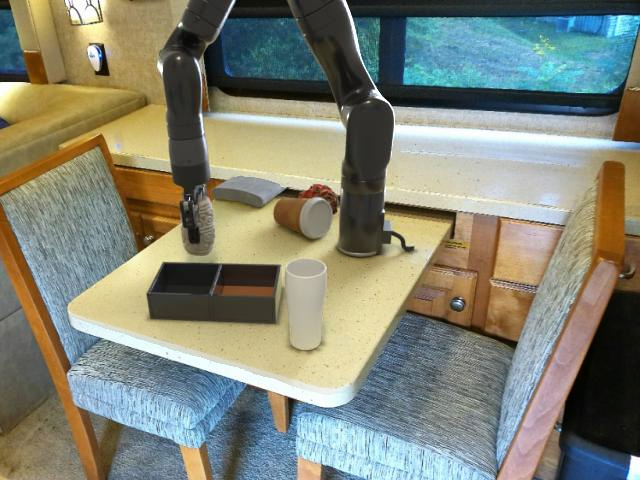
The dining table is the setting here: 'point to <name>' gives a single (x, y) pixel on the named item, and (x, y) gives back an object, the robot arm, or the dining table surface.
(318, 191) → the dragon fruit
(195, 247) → the carving
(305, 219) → the disposable coffee cup
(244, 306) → the storage box with compartments
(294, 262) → the drinking glass
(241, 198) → the hip flask
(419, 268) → the dining table surface
